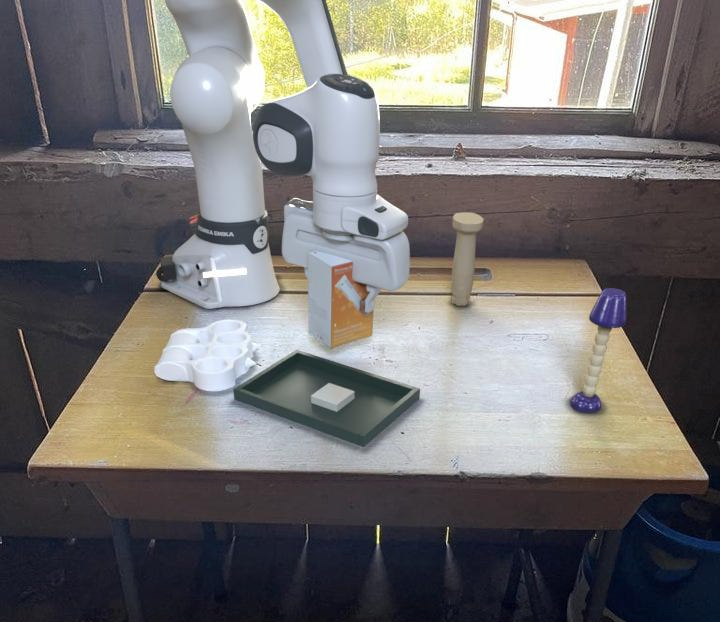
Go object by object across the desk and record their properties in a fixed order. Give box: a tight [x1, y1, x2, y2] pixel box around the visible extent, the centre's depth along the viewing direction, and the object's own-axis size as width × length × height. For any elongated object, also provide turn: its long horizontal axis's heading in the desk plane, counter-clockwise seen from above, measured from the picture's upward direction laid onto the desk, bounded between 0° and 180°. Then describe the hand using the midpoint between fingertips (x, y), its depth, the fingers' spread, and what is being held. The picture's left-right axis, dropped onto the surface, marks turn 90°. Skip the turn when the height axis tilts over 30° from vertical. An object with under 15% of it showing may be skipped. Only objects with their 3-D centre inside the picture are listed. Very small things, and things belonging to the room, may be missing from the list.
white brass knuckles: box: [153, 318, 262, 392], centre depth 110 cm, size 3×18×15 cm
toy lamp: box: [569, 287, 627, 414], centre depth 97 cm, size 5×5×17 cm
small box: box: [307, 251, 375, 350], centre depth 108 cm, size 8×6×13 cm
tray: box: [232, 349, 421, 448], centre depth 101 cm, size 22×15×2 cm
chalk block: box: [311, 383, 355, 412], centre depth 101 cm, size 4×4×1 cm
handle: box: [450, 211, 484, 307], centre depth 125 cm, size 5×6×15 cm
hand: (342, 303), depth 109 cm, fingers closed on small box, 7 cm apart
